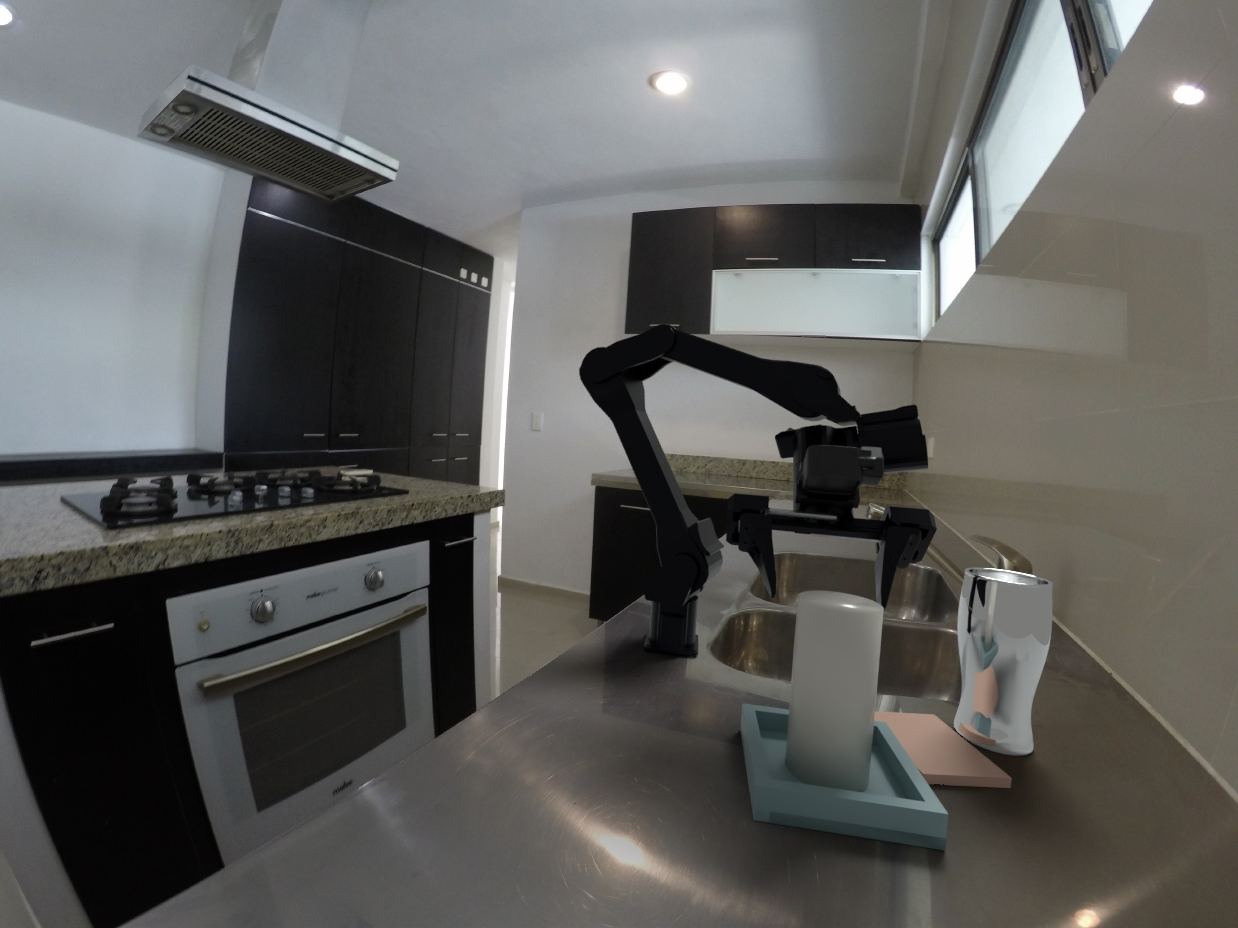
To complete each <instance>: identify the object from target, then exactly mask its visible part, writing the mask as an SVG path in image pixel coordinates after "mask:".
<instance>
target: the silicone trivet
mask: <svg viewBox="0 0 1238 928" xmlns="http://www.w3.org/2000/svg"><path fill="white" fill-rule="evenodd" d="M874 721H881V722H886V723H887V725H888V726H889V728H890V729H891V731H892V732H893V734H894V735H895V736H896V738H897V739H898V741H899V742H900V744H901V745H902V747H903V748H904V750H905V751H906V753H907V754H908V755H909V757H910V758H911V760H912V761H913V763H914V764H915V766H916V767H917V769H918V770H919V772H920V773H921V775H922V776H923V777H924V779H925V780H926V782H927V783H928V785H934V784H940V785H939V786H958V787H960V786H961V787H981V788H999V789H1011V786H1012V777H1011V776H1010V775H1008V773H1006V772H1005V771H1004V770H1002V768H1000V767H999V766H998V765H997V764H995V763H994V762H993V761H992V760H991V759H989V758H988V757H987V756H985V755H984V754H983V753H982V752H981V751H980V750H978V749H977V748H976V747H975V746H974V745H973V744H972V743H971V742H969V741H967V740H966V739H964V738H963V737H961V736H960V735H959V734H958V733H957V732H956V731H955V729H954V730H953V729H952V727H950V726H949V725H948V724H946V723H945V722H944V721H943V720H942V719H941V718H939V717H938V716H937V715H936V714H933V713H931V714H930V713H913V712H892V711H877V710H875V717H874ZM943 784H944V785H943Z"/></svg>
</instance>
